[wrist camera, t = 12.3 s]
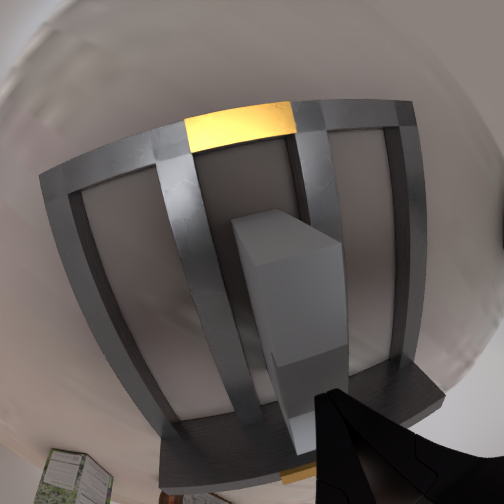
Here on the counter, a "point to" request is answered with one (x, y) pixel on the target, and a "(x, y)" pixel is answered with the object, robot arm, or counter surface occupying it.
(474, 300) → the counter surface
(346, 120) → the rack
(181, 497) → the tin
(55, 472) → the syrup box
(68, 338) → the counter surface
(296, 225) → the panel
